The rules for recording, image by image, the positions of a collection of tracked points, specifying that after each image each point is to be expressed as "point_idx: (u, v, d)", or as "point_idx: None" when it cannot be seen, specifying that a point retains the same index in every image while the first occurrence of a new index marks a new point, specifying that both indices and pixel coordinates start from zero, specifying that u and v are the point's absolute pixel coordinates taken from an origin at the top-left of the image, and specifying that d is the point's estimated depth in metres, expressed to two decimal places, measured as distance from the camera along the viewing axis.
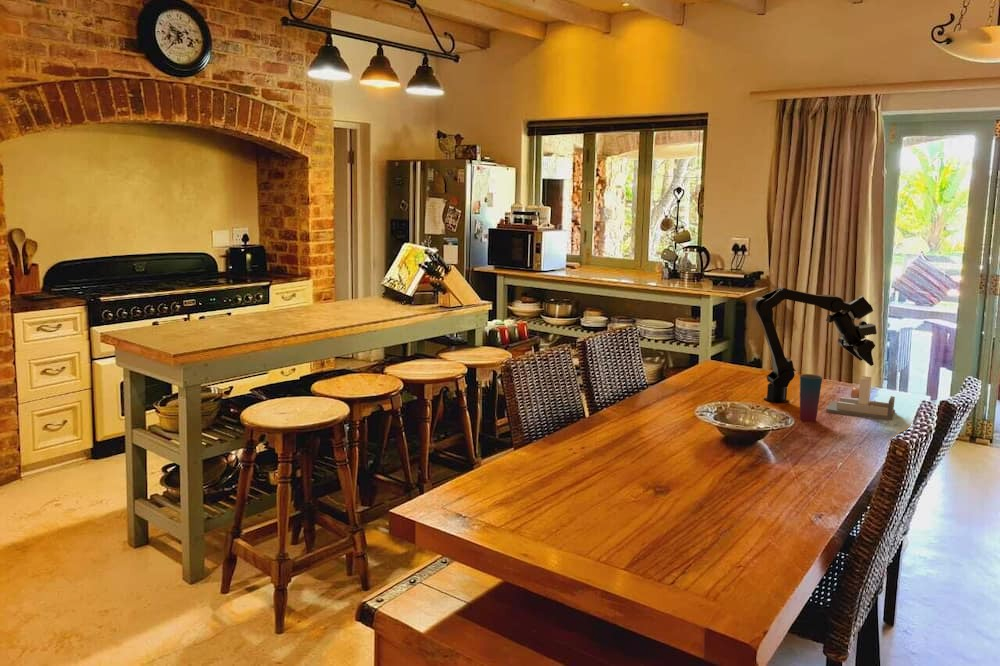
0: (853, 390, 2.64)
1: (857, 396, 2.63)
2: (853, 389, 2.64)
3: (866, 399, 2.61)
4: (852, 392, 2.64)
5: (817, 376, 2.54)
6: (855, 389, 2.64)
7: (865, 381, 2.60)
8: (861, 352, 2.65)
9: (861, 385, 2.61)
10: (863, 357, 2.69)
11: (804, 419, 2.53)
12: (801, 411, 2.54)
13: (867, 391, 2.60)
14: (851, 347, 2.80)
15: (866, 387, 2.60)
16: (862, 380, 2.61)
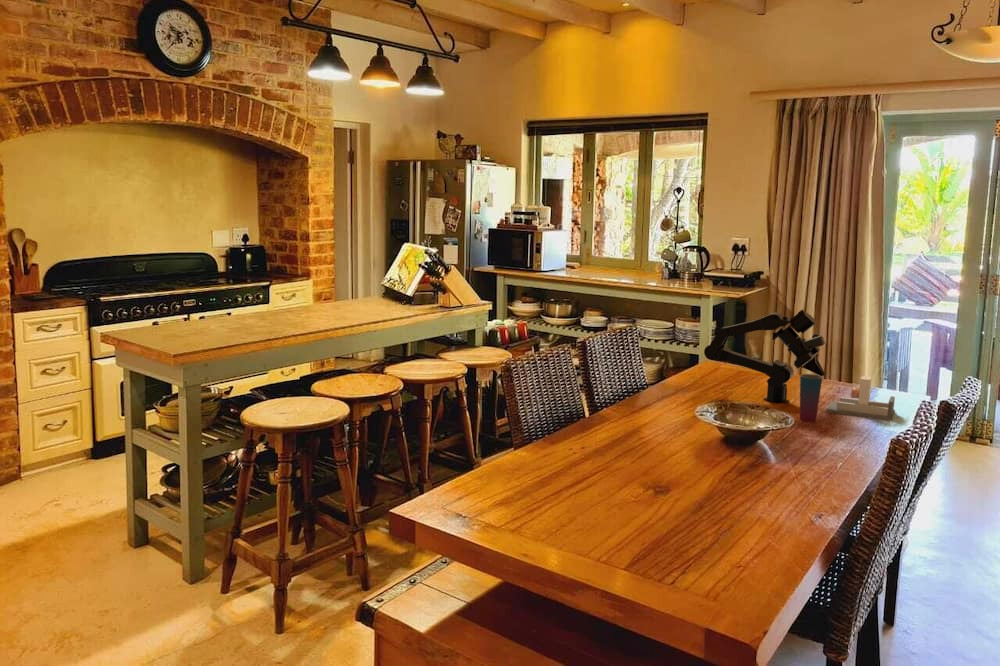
0: (853, 390, 2.64)
1: (857, 396, 2.63)
2: (853, 389, 2.64)
3: (866, 399, 2.61)
4: (852, 392, 2.64)
5: (817, 376, 2.54)
6: (855, 389, 2.64)
7: (865, 381, 2.60)
8: (798, 366, 2.65)
9: (861, 385, 2.61)
10: (809, 368, 2.69)
11: (804, 419, 2.53)
12: (801, 411, 2.54)
13: (867, 391, 2.60)
14: None
15: (866, 387, 2.60)
16: (862, 380, 2.61)
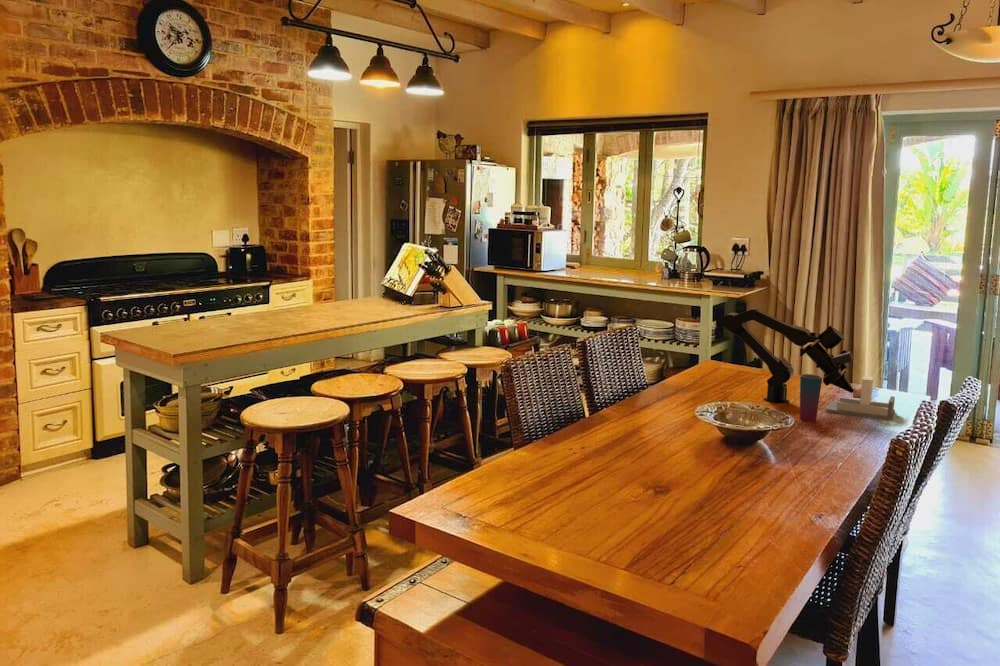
0: (855, 390, 2.63)
1: (859, 396, 2.63)
2: (855, 389, 2.64)
3: (868, 399, 2.61)
4: (854, 392, 2.63)
5: (817, 376, 2.54)
6: (857, 389, 2.63)
7: (867, 381, 2.60)
8: (827, 383, 2.60)
9: (863, 385, 2.61)
10: (838, 385, 2.66)
11: (804, 419, 2.53)
12: (801, 411, 2.54)
13: (869, 391, 2.60)
14: None
15: (868, 387, 2.60)
16: (864, 380, 2.60)
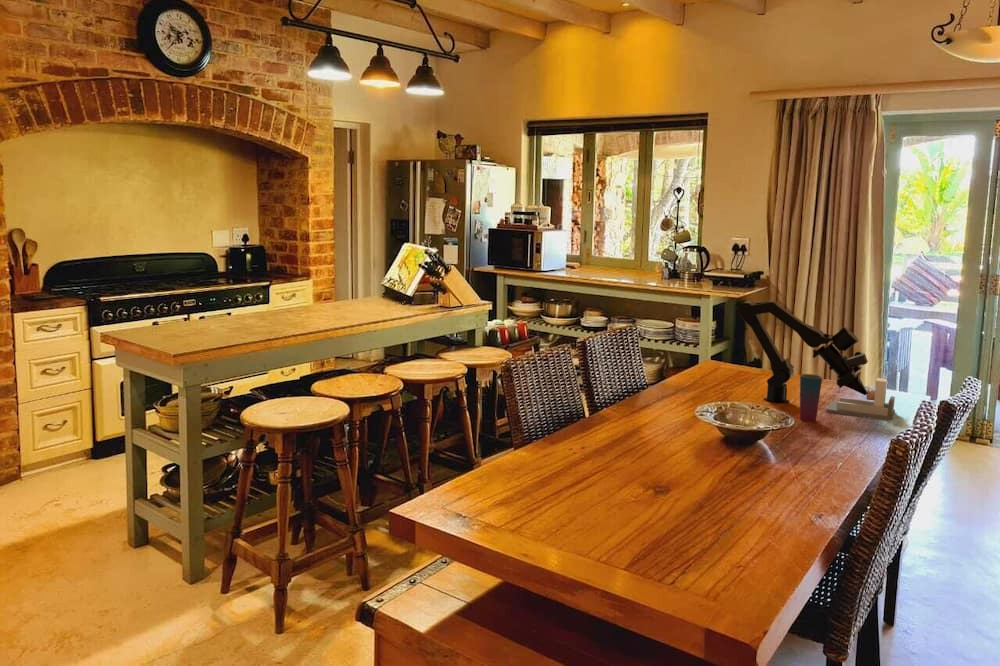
0: (869, 392, 2.61)
1: (873, 398, 2.61)
2: (869, 391, 2.62)
3: (882, 401, 2.58)
4: (868, 394, 2.61)
5: (817, 376, 2.54)
6: (871, 391, 2.61)
7: (881, 383, 2.58)
8: (841, 385, 2.58)
9: (877, 387, 2.59)
10: (851, 387, 2.63)
11: (804, 419, 2.53)
12: (801, 411, 2.54)
13: (883, 393, 2.58)
14: None
15: (882, 388, 2.58)
16: (878, 382, 2.58)
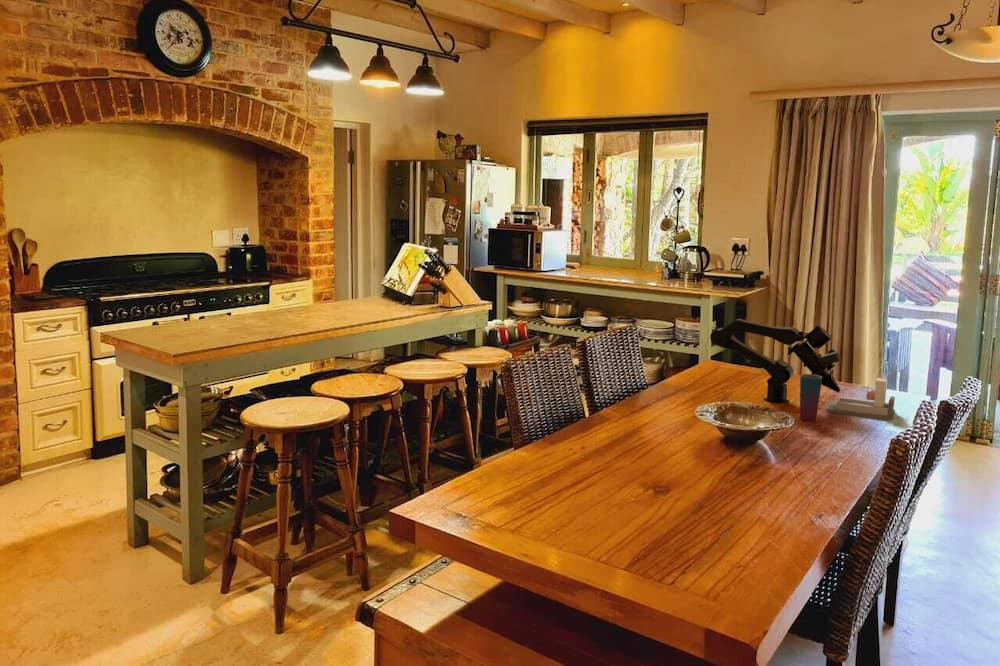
0: (869, 392, 2.61)
1: (873, 398, 2.61)
2: (869, 391, 2.62)
3: (882, 401, 2.58)
4: (868, 394, 2.61)
5: (817, 376, 2.54)
6: (871, 391, 2.61)
7: (881, 383, 2.58)
8: None
9: (877, 387, 2.59)
10: (824, 384, 2.68)
11: (804, 419, 2.53)
12: (801, 411, 2.54)
13: (883, 393, 2.58)
14: None
15: (882, 388, 2.58)
16: (878, 382, 2.58)
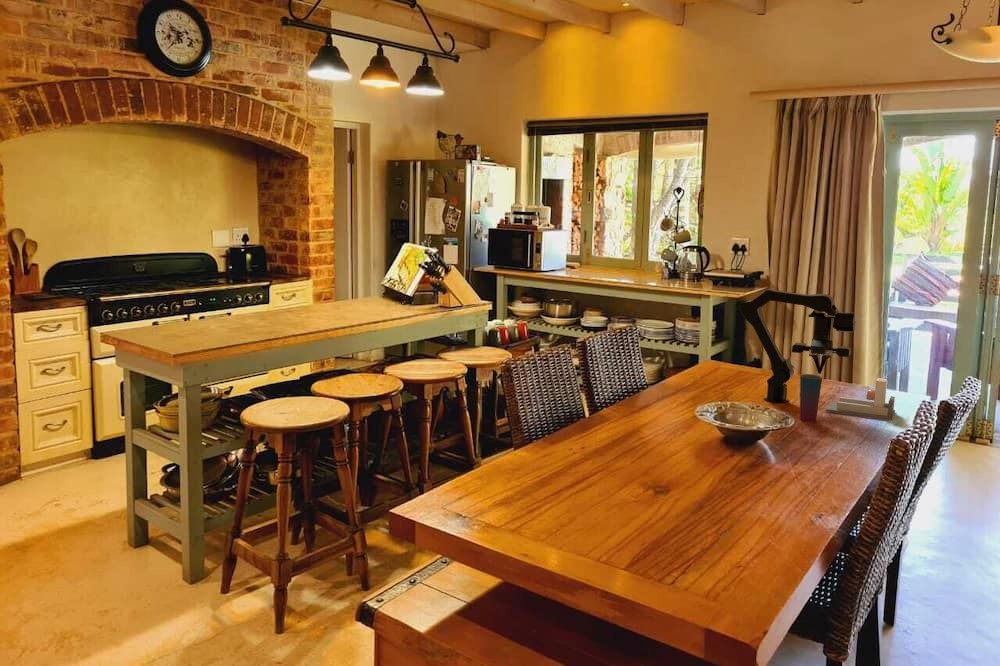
0: (869, 392, 2.61)
1: (873, 398, 2.61)
2: (869, 391, 2.62)
3: (882, 401, 2.58)
4: (868, 394, 2.61)
5: (817, 376, 2.54)
6: (871, 391, 2.61)
7: (881, 383, 2.58)
8: None
9: (877, 387, 2.59)
10: None
11: (804, 419, 2.53)
12: (801, 411, 2.54)
13: (883, 393, 2.58)
14: None
15: (882, 388, 2.58)
16: (878, 382, 2.58)
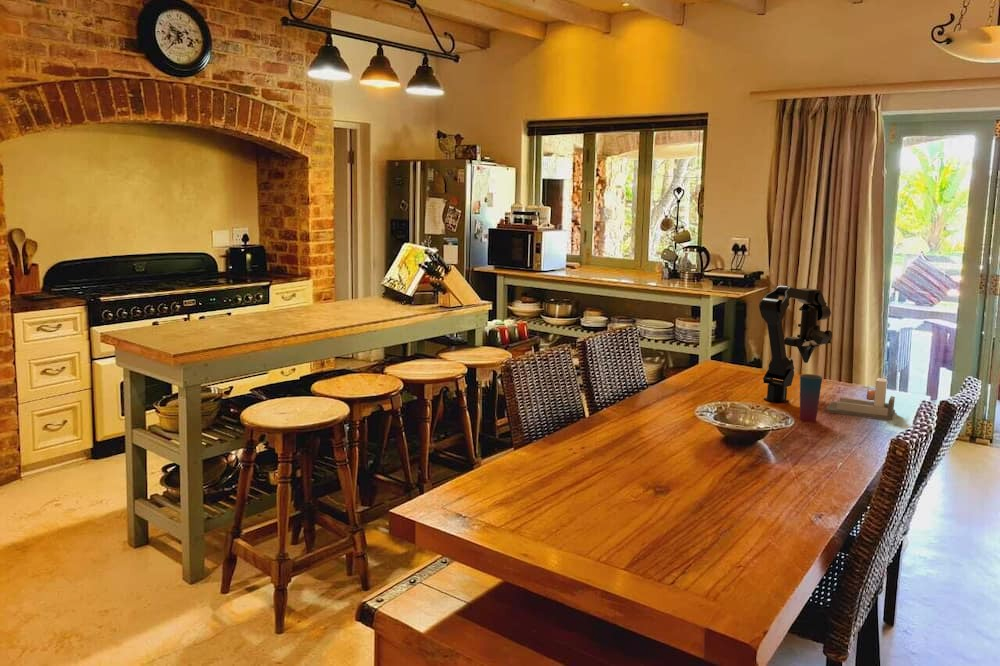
0: (869, 392, 2.61)
1: (873, 398, 2.61)
2: (869, 391, 2.62)
3: (882, 401, 2.58)
4: (868, 394, 2.61)
5: (817, 376, 2.54)
6: (871, 391, 2.61)
7: (881, 383, 2.58)
8: (784, 342, 2.85)
9: (877, 387, 2.59)
10: (799, 349, 2.88)
11: (804, 419, 2.53)
12: (801, 411, 2.54)
13: (883, 393, 2.58)
14: None
15: (882, 388, 2.58)
16: (878, 382, 2.58)
